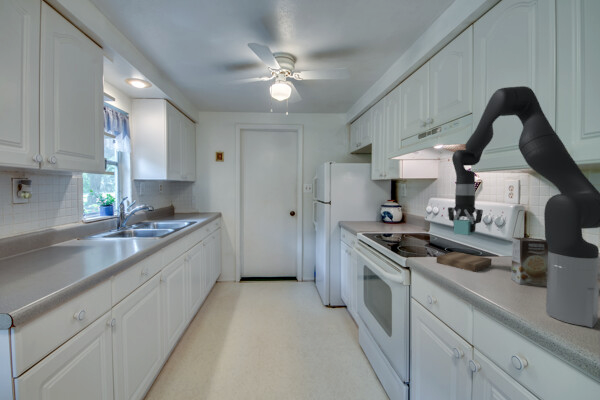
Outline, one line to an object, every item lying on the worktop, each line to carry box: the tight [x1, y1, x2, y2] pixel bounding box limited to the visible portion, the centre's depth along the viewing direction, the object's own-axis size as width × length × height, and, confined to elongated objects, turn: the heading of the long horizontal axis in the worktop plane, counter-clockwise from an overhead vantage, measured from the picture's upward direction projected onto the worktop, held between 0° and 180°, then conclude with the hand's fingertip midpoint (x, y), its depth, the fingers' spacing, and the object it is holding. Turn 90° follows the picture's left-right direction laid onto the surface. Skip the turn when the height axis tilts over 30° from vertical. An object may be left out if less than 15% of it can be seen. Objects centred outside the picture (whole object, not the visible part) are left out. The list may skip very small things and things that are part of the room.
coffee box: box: [510, 236, 548, 288], centre depth 95 cm, size 9×6×16 cm
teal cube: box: [453, 219, 476, 236], centre depth 119 cm, size 6×6×6 cm
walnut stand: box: [436, 251, 492, 272], centre depth 119 cm, size 16×16×3 cm
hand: (464, 231), depth 119 cm, fingers closed on teal cube, 6 cm apart
